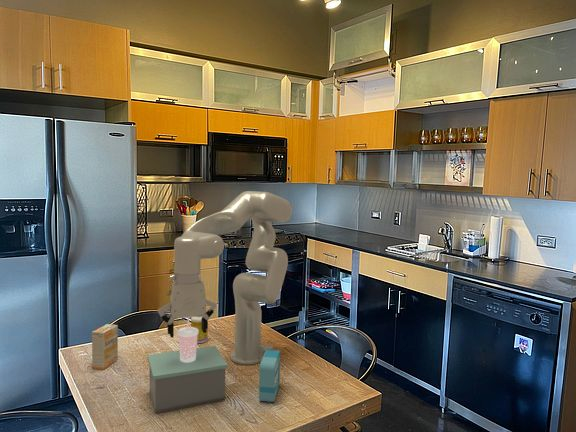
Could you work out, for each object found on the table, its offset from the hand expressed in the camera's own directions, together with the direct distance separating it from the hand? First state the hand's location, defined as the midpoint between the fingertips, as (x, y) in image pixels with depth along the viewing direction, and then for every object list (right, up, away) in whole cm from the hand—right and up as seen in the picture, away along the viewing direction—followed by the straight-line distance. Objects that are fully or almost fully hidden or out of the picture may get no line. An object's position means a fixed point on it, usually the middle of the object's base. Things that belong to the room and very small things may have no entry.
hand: (187, 333), depth 130 cm
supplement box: (-34, -17, +21) cm, 43 cm away
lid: (0, -9, 0) cm, 9 cm away
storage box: (-1, -19, +2) cm, 19 cm away
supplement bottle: (-6, -15, +44) cm, 47 cm away
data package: (+24, -20, +4) cm, 32 cm away
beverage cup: (0, -8, +1) cm, 8 cm away
